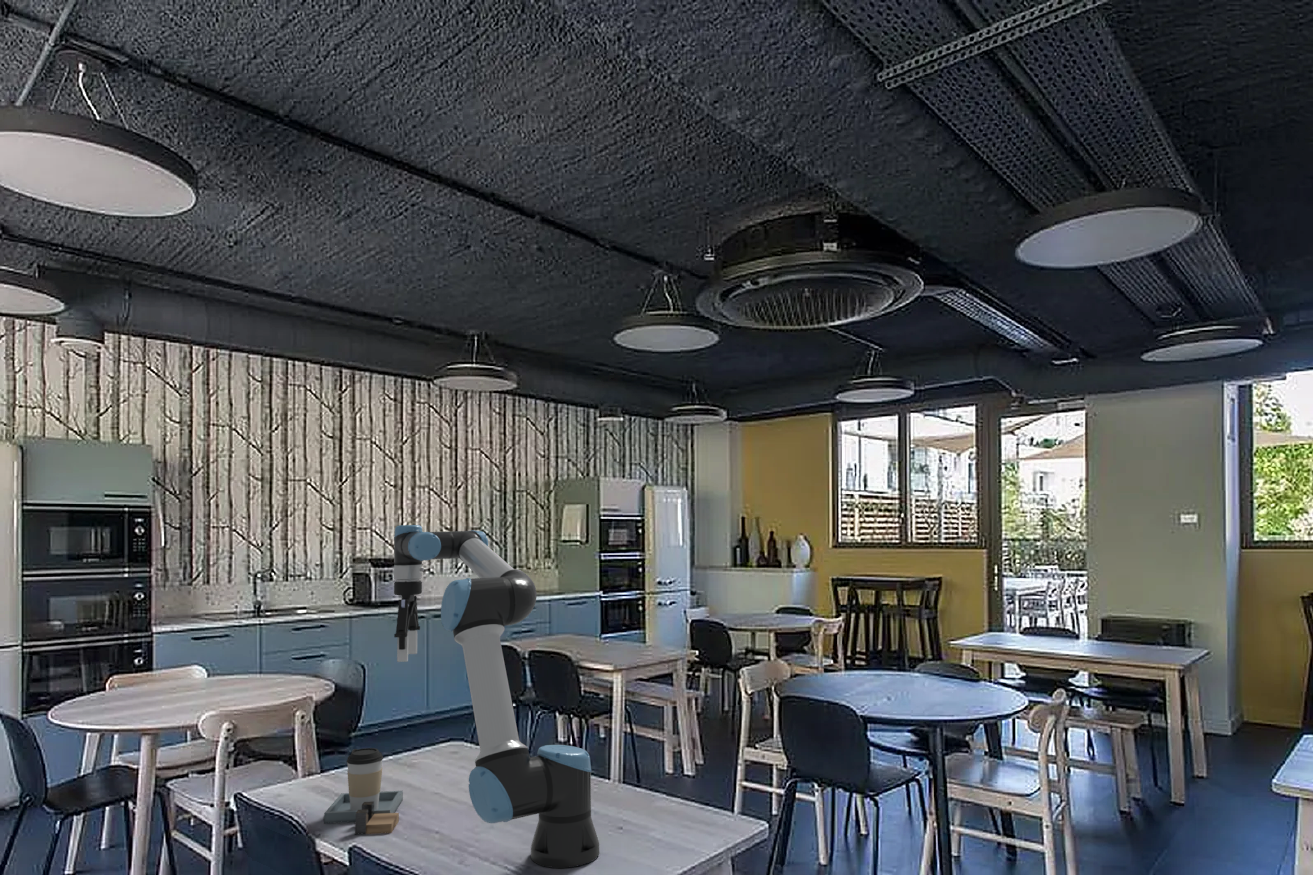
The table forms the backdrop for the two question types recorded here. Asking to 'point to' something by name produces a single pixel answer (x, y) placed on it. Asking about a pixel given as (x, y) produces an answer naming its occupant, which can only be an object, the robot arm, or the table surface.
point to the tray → (343, 813)
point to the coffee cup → (364, 777)
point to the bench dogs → (363, 817)
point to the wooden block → (382, 823)
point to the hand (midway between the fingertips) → (407, 657)
